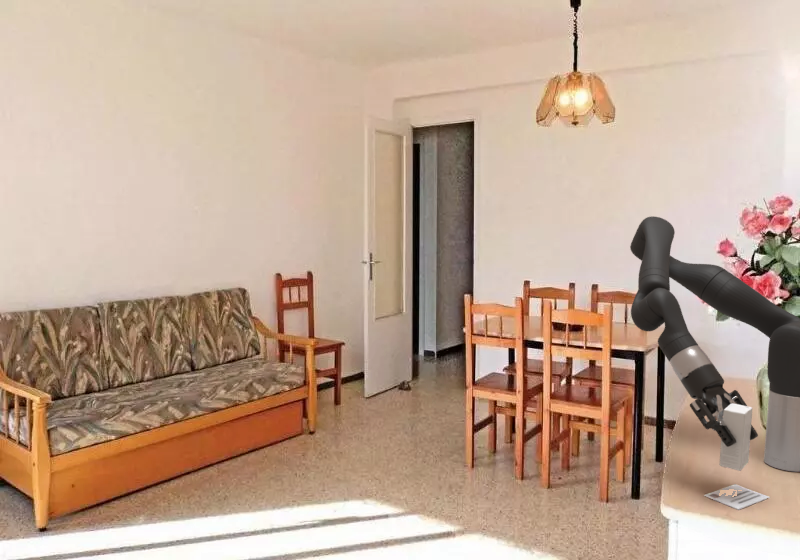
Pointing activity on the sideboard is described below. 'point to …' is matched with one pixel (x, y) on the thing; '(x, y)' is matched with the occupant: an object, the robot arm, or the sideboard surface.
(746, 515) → the sideboard surface
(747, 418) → the skincare box
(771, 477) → the sideboard surface
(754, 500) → the letter
